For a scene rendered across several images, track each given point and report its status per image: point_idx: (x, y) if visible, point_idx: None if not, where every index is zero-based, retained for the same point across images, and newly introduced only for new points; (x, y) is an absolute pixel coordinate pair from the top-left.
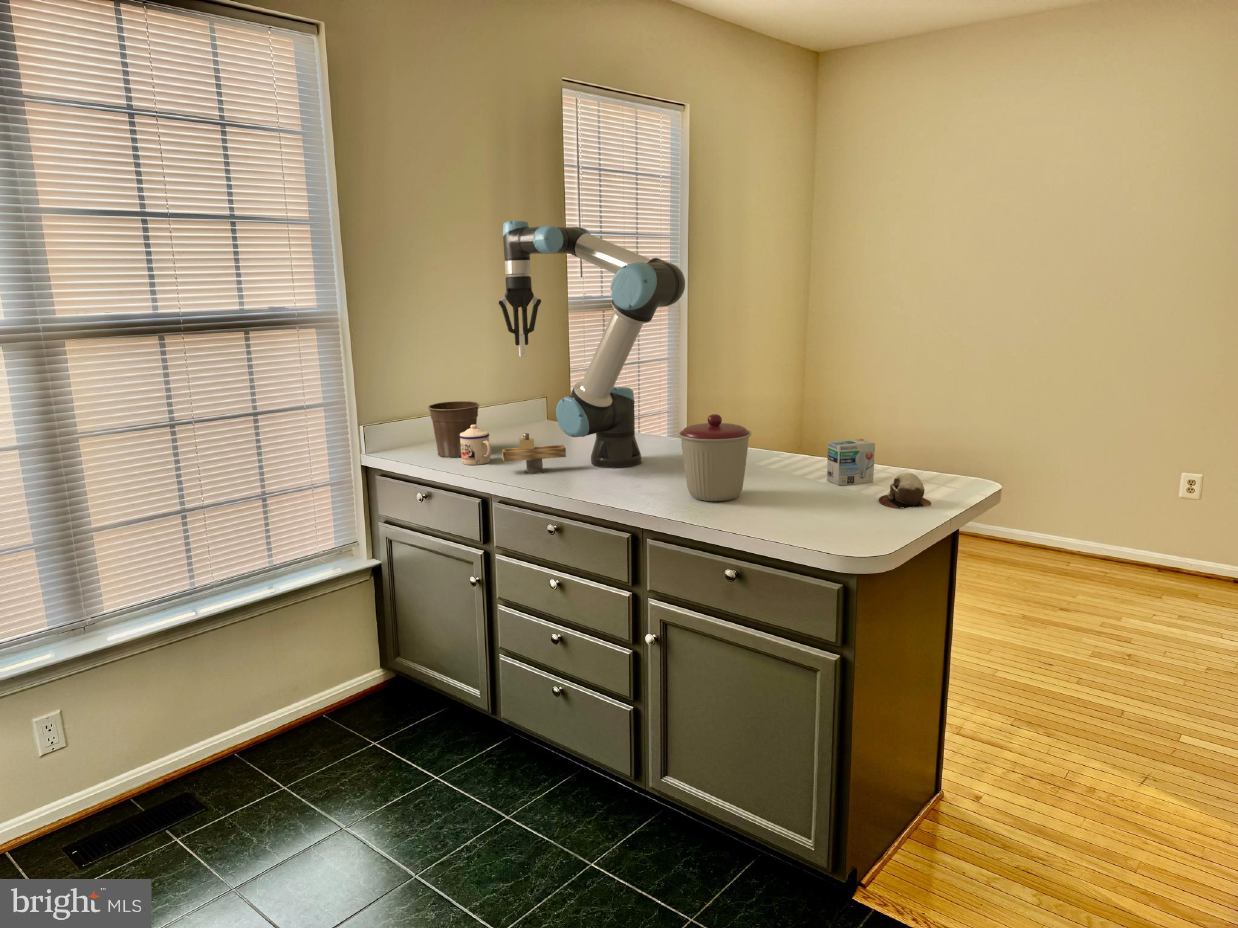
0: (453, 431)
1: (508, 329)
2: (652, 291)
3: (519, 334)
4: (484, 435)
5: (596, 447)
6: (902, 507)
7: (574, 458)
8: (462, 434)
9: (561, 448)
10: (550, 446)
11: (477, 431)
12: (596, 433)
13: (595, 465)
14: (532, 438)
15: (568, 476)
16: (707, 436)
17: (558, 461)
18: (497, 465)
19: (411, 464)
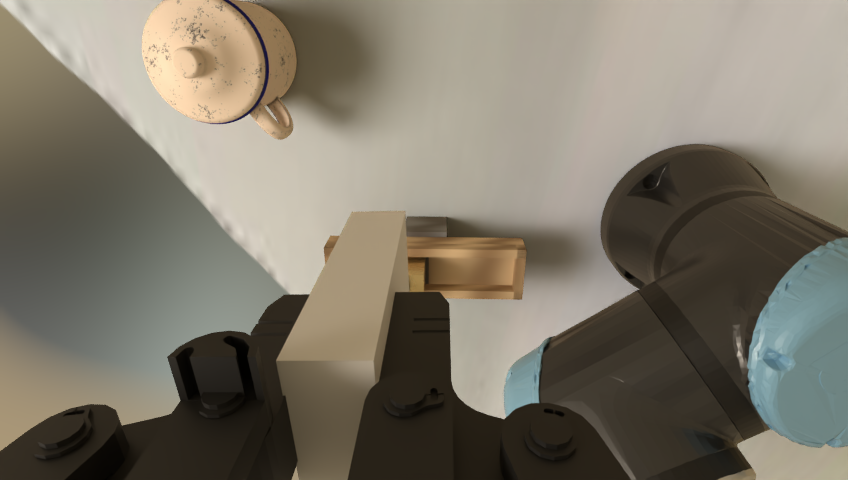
0: None
1: (19, 477)
2: None
3: (301, 430)
4: (250, 108)
5: (631, 260)
6: None
7: (580, 109)
8: (157, 87)
9: (508, 298)
10: (482, 257)
11: (214, 96)
12: (658, 262)
13: (603, 247)
14: (421, 287)
15: (500, 326)
16: None
17: (518, 139)
18: (323, 131)
19: (23, 8)
